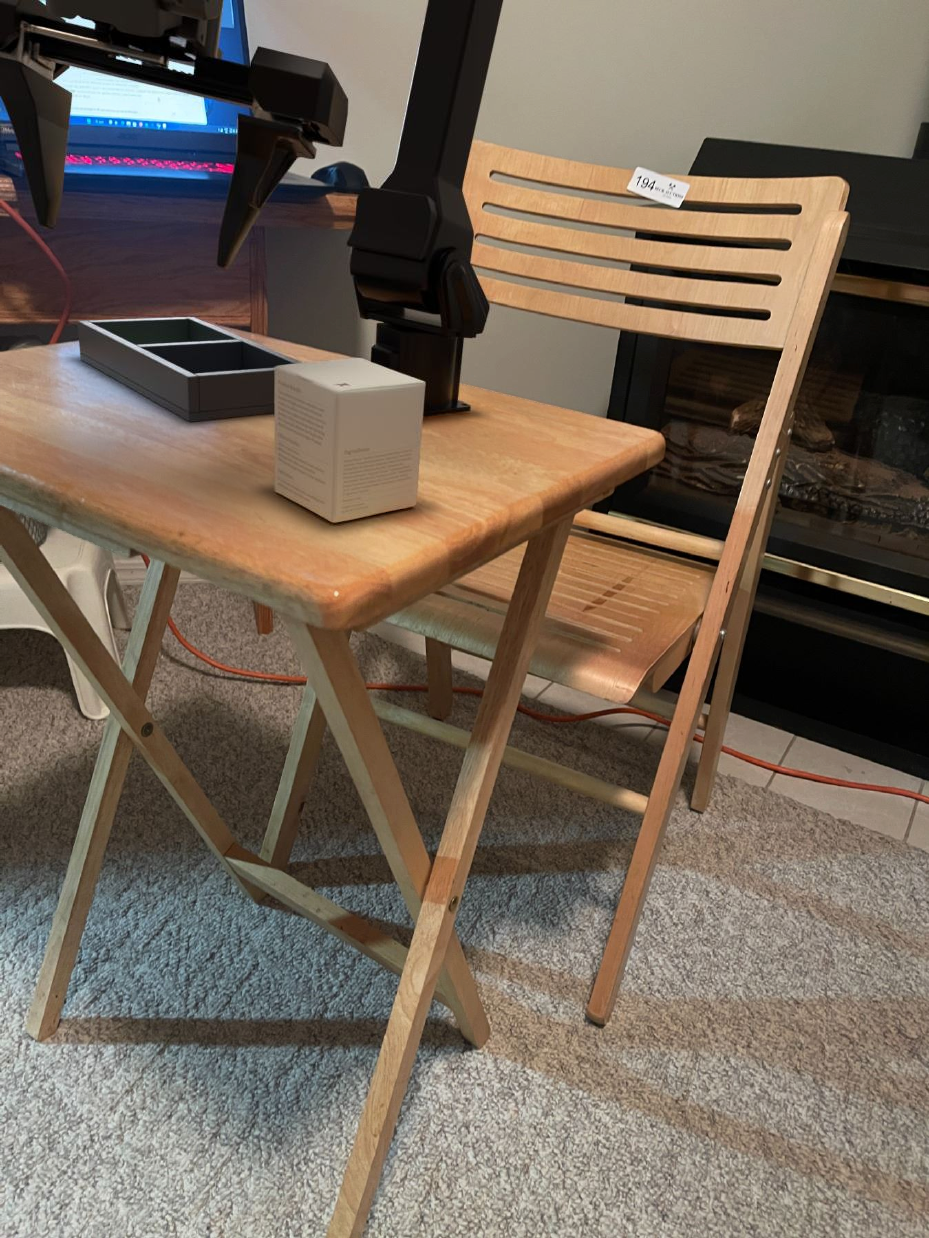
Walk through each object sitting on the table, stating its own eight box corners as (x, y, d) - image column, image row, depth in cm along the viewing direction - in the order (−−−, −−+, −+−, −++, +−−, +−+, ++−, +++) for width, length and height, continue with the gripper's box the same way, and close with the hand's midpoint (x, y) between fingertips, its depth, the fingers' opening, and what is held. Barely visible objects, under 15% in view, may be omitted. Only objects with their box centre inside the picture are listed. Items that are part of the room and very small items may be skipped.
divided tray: (194, 352, 83) (193, 316, 82) (314, 408, 71) (315, 367, 69) (80, 359, 77) (76, 320, 76) (189, 422, 64) (187, 377, 63)
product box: (419, 508, 54) (429, 381, 51) (331, 526, 50) (336, 390, 47) (357, 476, 58) (362, 356, 55) (270, 491, 54) (271, 363, 51)
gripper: (-133, -249, 36) (-145, 182, 41) (342, -130, 37) (280, 279, 41) (5, -115, 47) (-15, 215, 51) (372, -25, 48) (320, 291, 52)
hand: (134, 248), depth 49 cm, fingers open, 9 cm apart
